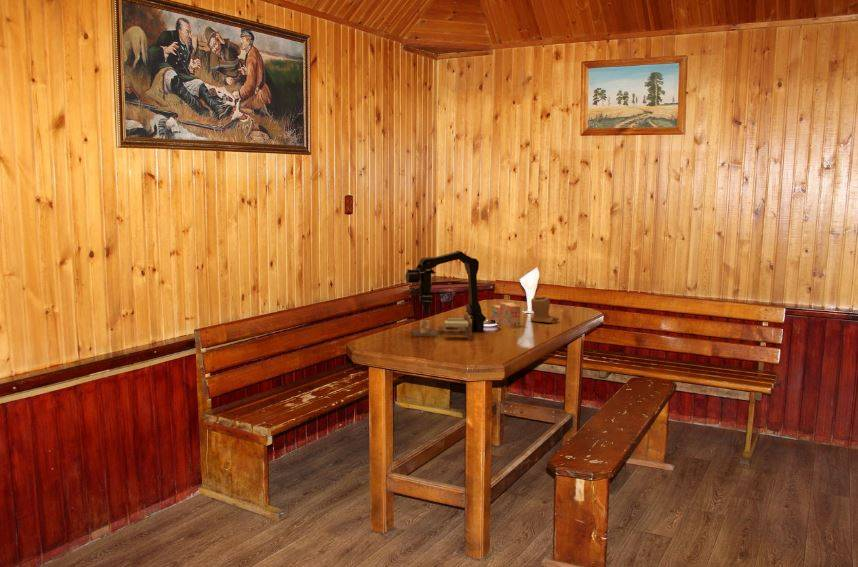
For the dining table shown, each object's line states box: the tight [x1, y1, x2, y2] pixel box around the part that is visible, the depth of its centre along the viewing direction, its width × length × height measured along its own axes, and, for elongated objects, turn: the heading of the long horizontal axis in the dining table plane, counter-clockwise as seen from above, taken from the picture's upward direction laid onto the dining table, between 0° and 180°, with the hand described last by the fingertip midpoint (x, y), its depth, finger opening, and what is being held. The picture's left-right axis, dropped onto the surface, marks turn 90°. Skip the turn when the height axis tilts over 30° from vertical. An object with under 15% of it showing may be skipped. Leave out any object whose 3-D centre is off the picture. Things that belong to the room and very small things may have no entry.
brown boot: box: [530, 295, 560, 324], centre depth 422 cm, size 15×12×15 cm
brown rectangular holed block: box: [437, 313, 473, 341], centre depth 381 cm, size 16×25×9 cm, turn 3°
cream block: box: [419, 319, 430, 333], centre depth 382 cm, size 4×4×6 cm
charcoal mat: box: [412, 329, 438, 338], centre depth 382 cm, size 12×12×1 cm
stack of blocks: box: [491, 301, 522, 329], centre depth 415 cm, size 21×6×12 cm, turn 25°
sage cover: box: [443, 317, 469, 326], centre depth 372 cm, size 12×8×3 cm, turn 93°
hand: (425, 312), depth 381 cm, fingers open, 9 cm apart
